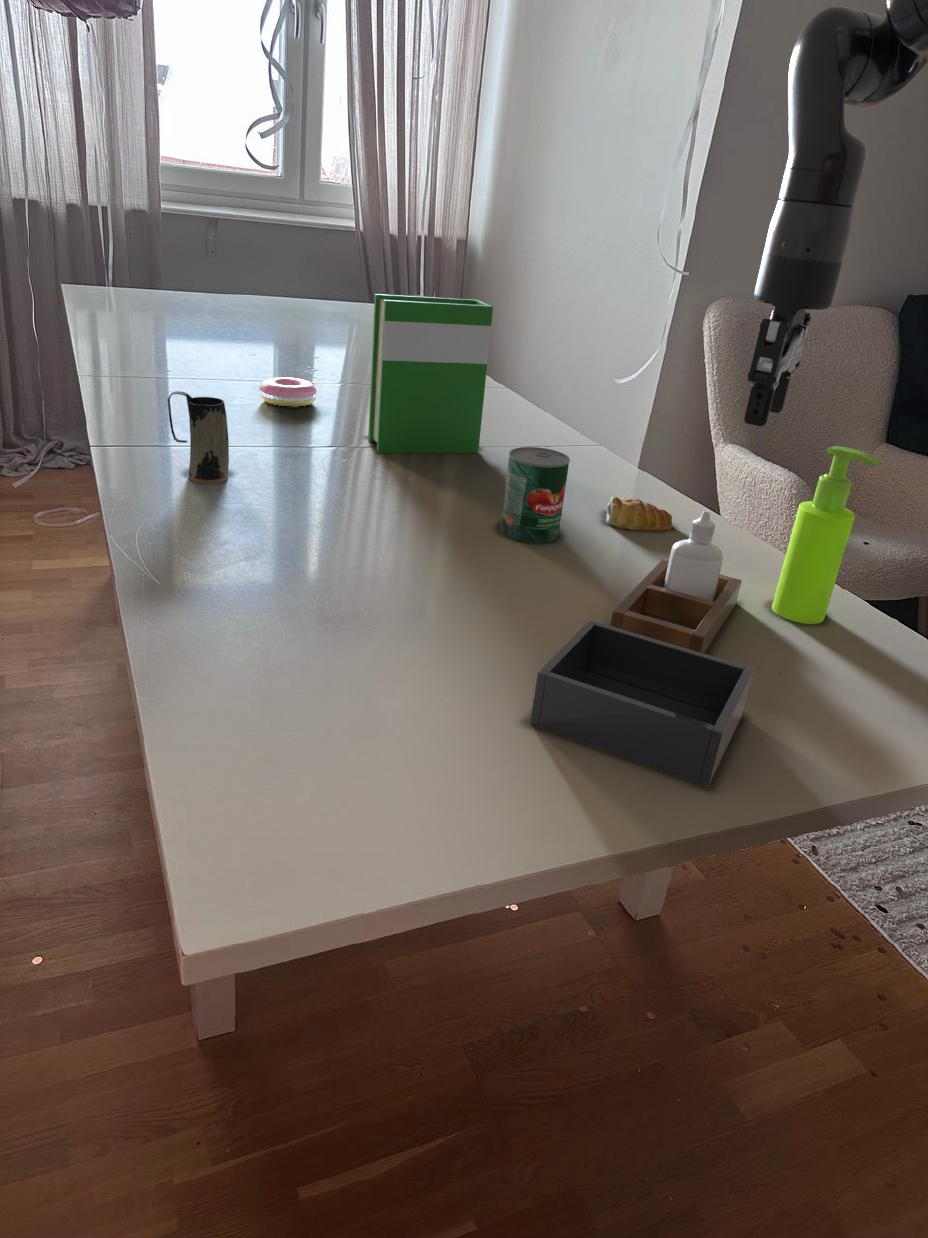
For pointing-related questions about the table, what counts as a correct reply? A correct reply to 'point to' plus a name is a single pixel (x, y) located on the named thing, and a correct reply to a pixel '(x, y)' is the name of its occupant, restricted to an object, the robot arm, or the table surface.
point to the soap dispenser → (818, 543)
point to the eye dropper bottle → (695, 562)
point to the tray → (675, 611)
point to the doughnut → (288, 391)
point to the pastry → (637, 515)
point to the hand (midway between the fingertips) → (763, 417)
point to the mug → (206, 439)
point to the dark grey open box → (643, 699)
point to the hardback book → (428, 373)
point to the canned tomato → (534, 494)
